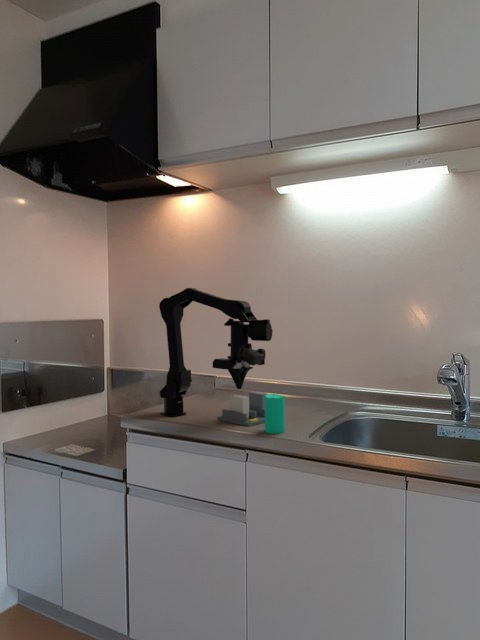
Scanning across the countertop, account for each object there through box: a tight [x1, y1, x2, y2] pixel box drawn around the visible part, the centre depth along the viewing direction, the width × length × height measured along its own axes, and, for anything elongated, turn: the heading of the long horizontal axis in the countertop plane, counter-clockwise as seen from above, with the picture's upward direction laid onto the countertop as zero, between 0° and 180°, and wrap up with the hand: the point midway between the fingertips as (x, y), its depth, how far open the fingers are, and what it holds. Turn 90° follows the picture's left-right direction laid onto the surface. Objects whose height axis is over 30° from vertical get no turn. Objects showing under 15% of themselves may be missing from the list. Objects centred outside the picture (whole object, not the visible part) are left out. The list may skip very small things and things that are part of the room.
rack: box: [217, 391, 269, 427], centre depth 162 cm, size 14×15×8 cm
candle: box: [264, 393, 286, 434], centre depth 147 cm, size 6×6×12 cm
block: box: [229, 394, 249, 419], centre depth 159 cm, size 6×3×7 cm, turn 46°
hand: (239, 388), depth 159 cm, fingers closed
